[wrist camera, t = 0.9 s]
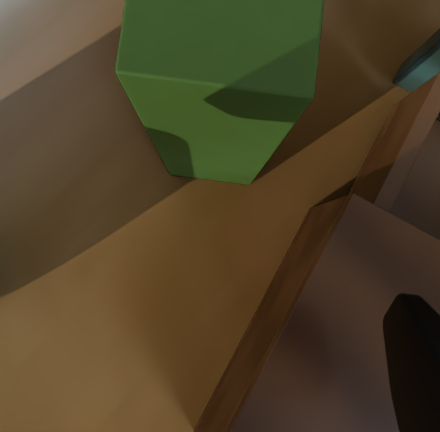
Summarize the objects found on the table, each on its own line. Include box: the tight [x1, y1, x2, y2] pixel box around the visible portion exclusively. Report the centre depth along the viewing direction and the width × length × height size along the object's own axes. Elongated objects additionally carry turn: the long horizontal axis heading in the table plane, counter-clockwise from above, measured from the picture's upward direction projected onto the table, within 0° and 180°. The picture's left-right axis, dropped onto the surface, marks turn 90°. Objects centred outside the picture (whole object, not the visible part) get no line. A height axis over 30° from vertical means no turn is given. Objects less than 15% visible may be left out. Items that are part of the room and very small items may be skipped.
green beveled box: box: [115, 0, 324, 185], centre depth 15 cm, size 4×4×13 cm
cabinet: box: [194, 193, 440, 432], centre depth 18 cm, size 13×11×6 cm
